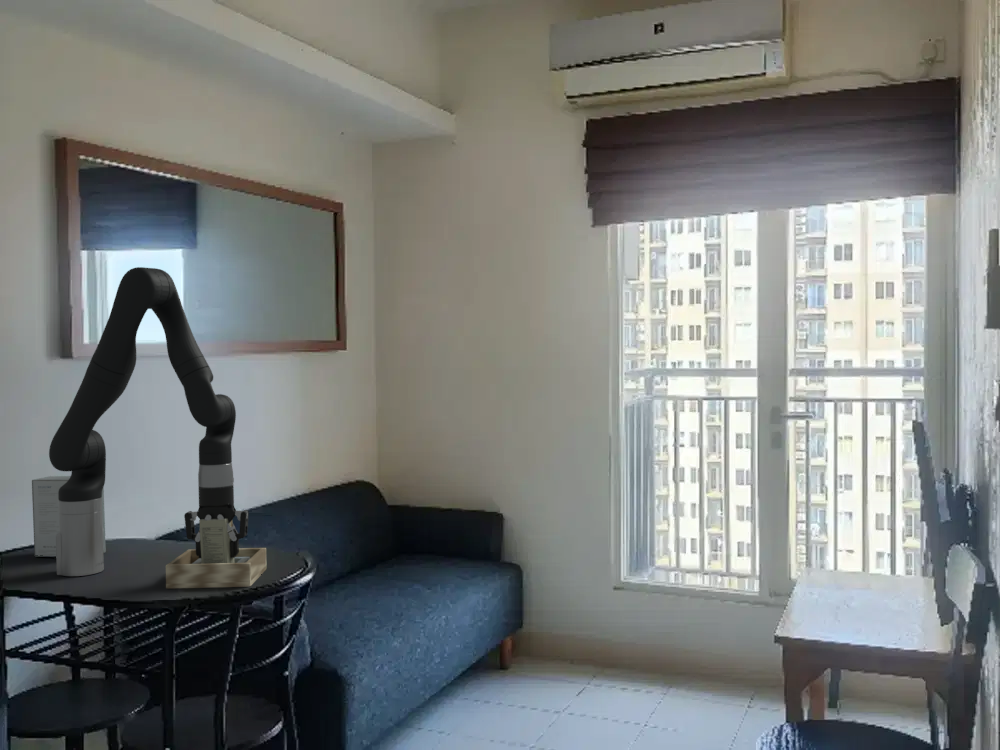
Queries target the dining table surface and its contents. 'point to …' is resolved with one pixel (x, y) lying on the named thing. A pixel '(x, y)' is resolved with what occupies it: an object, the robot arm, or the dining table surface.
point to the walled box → (216, 570)
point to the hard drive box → (50, 514)
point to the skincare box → (215, 541)
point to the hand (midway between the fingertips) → (217, 557)
